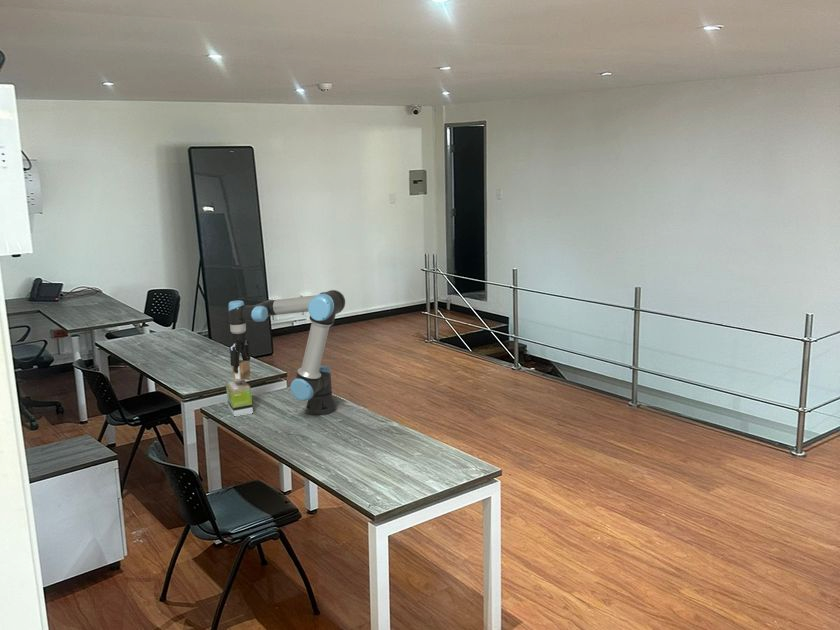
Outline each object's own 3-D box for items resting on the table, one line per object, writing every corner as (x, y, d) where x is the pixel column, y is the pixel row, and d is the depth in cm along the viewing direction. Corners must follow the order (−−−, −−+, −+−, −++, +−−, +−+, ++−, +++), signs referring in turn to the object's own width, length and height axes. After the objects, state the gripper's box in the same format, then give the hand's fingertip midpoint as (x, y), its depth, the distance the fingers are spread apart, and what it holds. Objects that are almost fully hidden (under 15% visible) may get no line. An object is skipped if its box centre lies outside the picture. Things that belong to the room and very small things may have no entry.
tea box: (228, 409, 391) (225, 382, 388) (247, 406, 395) (244, 379, 392) (233, 417, 378) (231, 389, 375) (253, 414, 382) (251, 386, 379)
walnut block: (250, 376, 381) (249, 361, 379) (243, 379, 375) (242, 364, 373) (240, 375, 383) (239, 360, 381) (233, 378, 377) (232, 363, 376)
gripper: (243, 327, 384) (246, 371, 389) (220, 335, 367) (224, 381, 372) (255, 328, 381) (259, 372, 386) (233, 336, 364) (237, 382, 369)
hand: (241, 376), depth 379 cm, fingers closed on walnut block, 6 cm apart
